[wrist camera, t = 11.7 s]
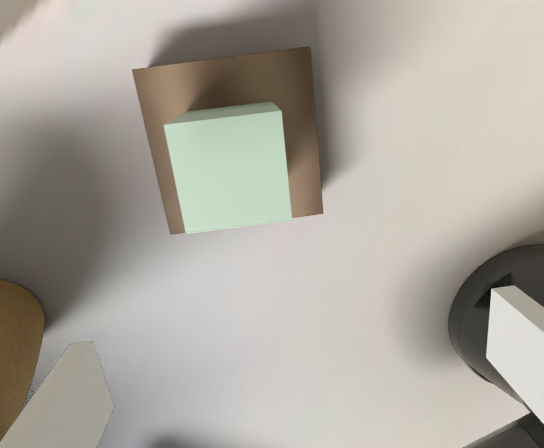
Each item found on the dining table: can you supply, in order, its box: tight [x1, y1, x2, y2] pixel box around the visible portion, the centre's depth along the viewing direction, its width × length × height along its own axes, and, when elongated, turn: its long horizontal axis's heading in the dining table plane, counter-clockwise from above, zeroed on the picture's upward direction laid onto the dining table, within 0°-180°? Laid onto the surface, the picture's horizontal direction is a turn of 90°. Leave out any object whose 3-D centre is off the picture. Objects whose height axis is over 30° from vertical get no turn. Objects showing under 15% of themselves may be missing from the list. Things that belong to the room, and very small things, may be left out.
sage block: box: [164, 102, 292, 234], centre depth 25 cm, size 6×6×8 cm
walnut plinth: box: [132, 47, 323, 235], centre depth 30 cm, size 12×12×4 cm
